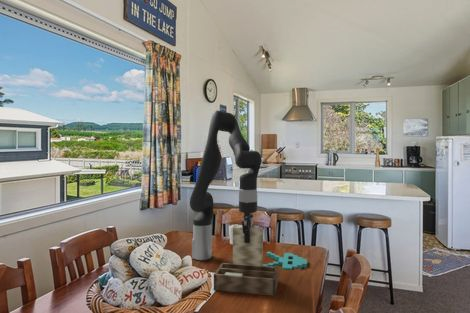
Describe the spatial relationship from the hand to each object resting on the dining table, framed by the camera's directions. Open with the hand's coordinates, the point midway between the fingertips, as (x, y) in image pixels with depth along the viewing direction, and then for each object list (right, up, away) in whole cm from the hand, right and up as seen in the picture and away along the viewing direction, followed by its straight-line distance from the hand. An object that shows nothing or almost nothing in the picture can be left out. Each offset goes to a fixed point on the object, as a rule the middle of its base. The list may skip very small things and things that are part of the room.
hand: (247, 241), depth 135 cm
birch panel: (0, -9, 0) cm, 9 cm away
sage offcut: (-6, -17, -4) cm, 19 cm away
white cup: (-5, -16, +56) cm, 58 cm away
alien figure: (+19, -18, +24) cm, 36 cm away
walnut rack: (0, -18, -2) cm, 18 cm away
